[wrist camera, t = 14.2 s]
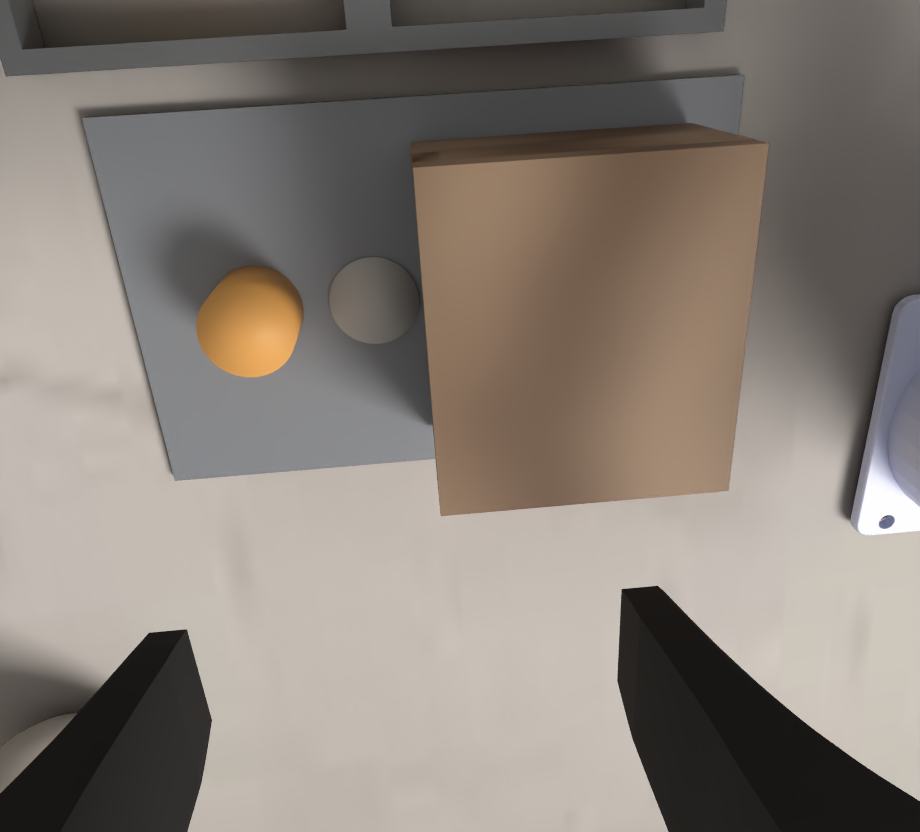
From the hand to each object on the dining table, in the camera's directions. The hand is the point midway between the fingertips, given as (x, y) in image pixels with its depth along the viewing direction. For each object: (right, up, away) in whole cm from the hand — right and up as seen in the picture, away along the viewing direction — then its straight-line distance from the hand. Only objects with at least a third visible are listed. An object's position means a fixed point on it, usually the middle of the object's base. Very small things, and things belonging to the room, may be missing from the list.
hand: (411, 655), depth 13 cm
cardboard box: (+3, +8, +8) cm, 12 cm away
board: (0, +7, +8) cm, 11 cm away
